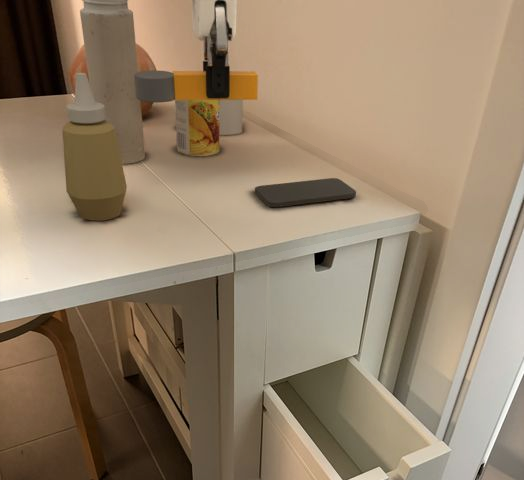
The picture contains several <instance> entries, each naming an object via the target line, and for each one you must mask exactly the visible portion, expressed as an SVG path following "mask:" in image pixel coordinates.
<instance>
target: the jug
mask: <svg viewBox="0 0 524 480" xmlns="http://www.w3.org/2000/svg"><path fill="white" fill-rule="evenodd" d="M136 54H137V66H138V72H140V71H150V70H157V68H156V65H155V63H154V61H153V59H152V57H151V56H150V54H149V53H148V52H147V51H146V50H145V48H144V47H142V46H141V45H140V44H138V43H137V42H136ZM77 73H86V75H87V78H88V81H89V76H88V69H87V61H86V54H85V46H84V44H83V45H82V46H81V47H80V48H79V50H78V51H77V53H76V55H75V56H74V58H73V60H72V63H71V64H70V66H69V72H68V77H69V82H70V87H71V89H72V93H73V94H74V95H75V85H76V74H77ZM140 104H141V115H142V120H144V119H145V118H147V116H148V114H149V112H150V111H151V109H152V107H153V105H154V102H144V101H140Z"/></svg>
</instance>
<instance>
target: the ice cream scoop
mask: <svg viewBox="0 0 524 480" xmlns="http://www.w3.org/2000/svg"><path fill="white" fill-rule="evenodd" d="M134 81H135V92H136V98H137V99H138V100H140V101H144V102H154V103H168V102H173V101H175V100H243V101H254V100H258V91H259V90H258V87H259V86H258V85H259V75H258V74H257V72H256V71H253V70H252V71H245V70H244V71H243V70H242V71H241V70H240V71H239V70H234V71H232V70H230V95H229V97H228V98H208V97H207V96H206V71H203V70H172V72H171V71H167V70H157V69H156V70H150V71H140V72H137V73H135V74H134ZM154 103H153V104H154Z"/></svg>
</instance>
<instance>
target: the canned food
mask: <svg viewBox="0 0 524 480" xmlns="http://www.w3.org/2000/svg"><path fill="white" fill-rule="evenodd" d="M174 107H175V109H174V110H175V127H176V145H177V146H176V147H177V148H176V149H177V151H178V152H179V153H180V154H183V155H185V156H191V157H208V156H213V155H216V154H218V153H219V152H220V147H221V145H220V135H219V100H174Z"/></svg>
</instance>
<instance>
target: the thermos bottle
mask: <svg viewBox="0 0 524 480" xmlns="http://www.w3.org/2000/svg"><path fill="white" fill-rule="evenodd" d="M81 1H82V2H83V8H81V9H80V10H79V16H80V23H81V30H82V39H83V45H84V46H85V54H86V61H87V69H88V76H89V84H90V87H91V90H92V93H93V96H94V99H95V102H98V103H102V104H103V105H104V106H105V114H106V119H105V120H106V121H108V122H110V123H111V124H112V125H113V126H114V128H115V133H116V138H117V142H118V147H119V152H120V157H121V161H122V165H125V164H127V165H128V164H134V163H137V162H138V163H139V162H141V161H143V160H144V159H145V157H146V149H145V148H146V147H145V137H144V125H143V119H142V115H141V104H140V100H138V99H137V98H136V92H135V81H134V74H135V73H137V72H138V66H137V54H136V43H137V42H136V31H135V20H134V12H133V10H131V9H130V8H129V5H128V3H129V2H128V1H129V0H81Z"/></svg>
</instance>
